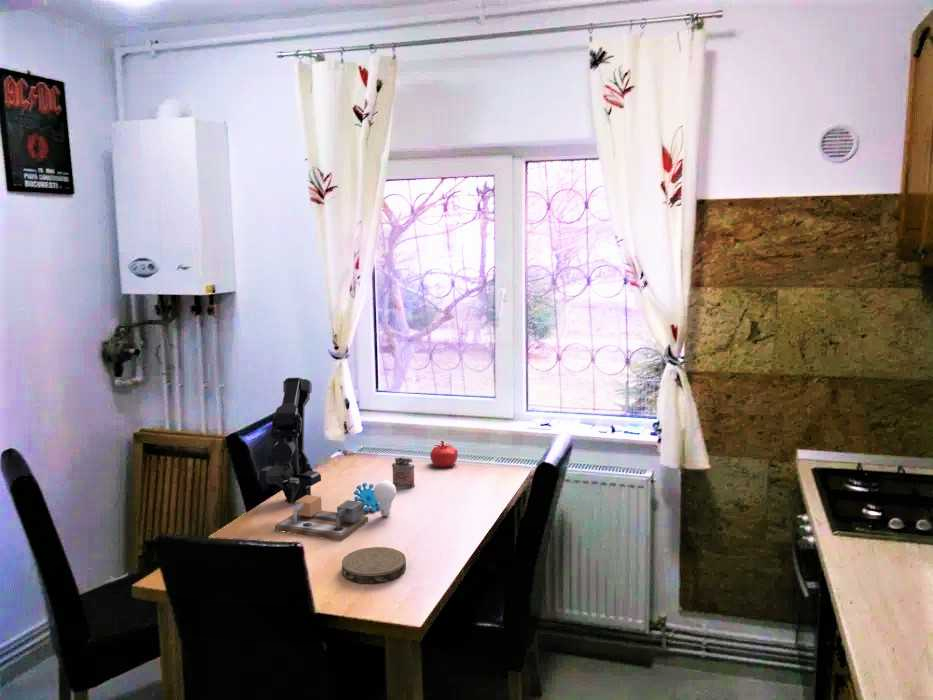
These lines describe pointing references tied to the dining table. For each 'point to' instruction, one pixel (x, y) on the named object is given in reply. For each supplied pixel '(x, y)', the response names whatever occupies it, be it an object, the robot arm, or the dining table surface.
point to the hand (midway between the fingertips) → (290, 503)
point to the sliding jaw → (307, 506)
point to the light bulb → (385, 496)
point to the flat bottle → (403, 473)
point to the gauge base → (327, 522)
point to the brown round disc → (373, 565)
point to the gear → (367, 497)
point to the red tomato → (443, 455)
